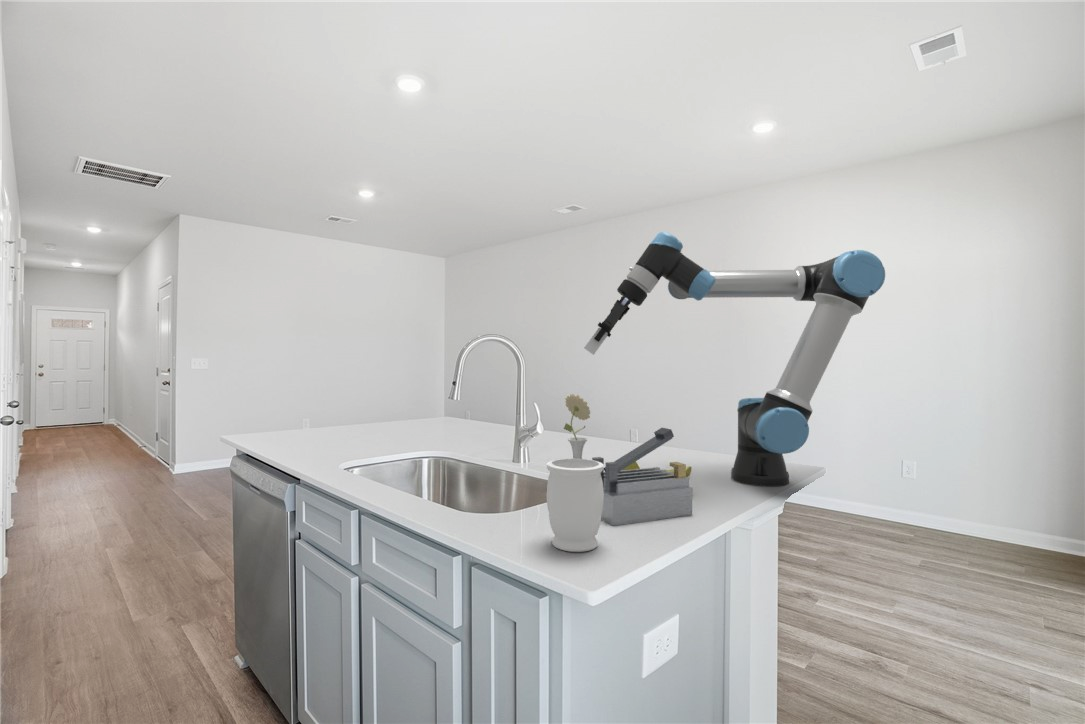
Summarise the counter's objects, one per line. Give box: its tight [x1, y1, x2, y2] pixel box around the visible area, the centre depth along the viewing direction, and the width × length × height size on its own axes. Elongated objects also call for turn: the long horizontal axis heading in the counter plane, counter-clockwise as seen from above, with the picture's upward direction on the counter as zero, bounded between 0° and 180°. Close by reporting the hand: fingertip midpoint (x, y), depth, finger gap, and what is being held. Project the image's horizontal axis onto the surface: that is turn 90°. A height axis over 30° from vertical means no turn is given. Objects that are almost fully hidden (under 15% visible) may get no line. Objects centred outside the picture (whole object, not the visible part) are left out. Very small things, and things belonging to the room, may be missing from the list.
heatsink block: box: [591, 456, 694, 527], centre depth 119 cm, size 20×14×12 cm
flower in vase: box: [563, 393, 591, 459], centre depth 136 cm, size 13×11×25 cm
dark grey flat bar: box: [604, 427, 675, 472], centre depth 120 cm, size 18×4×2 cm, turn 113°
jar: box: [546, 458, 605, 553], centre depth 98 cm, size 11×10×15 cm
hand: (588, 351), depth 142 cm, fingers open, 13 cm apart
